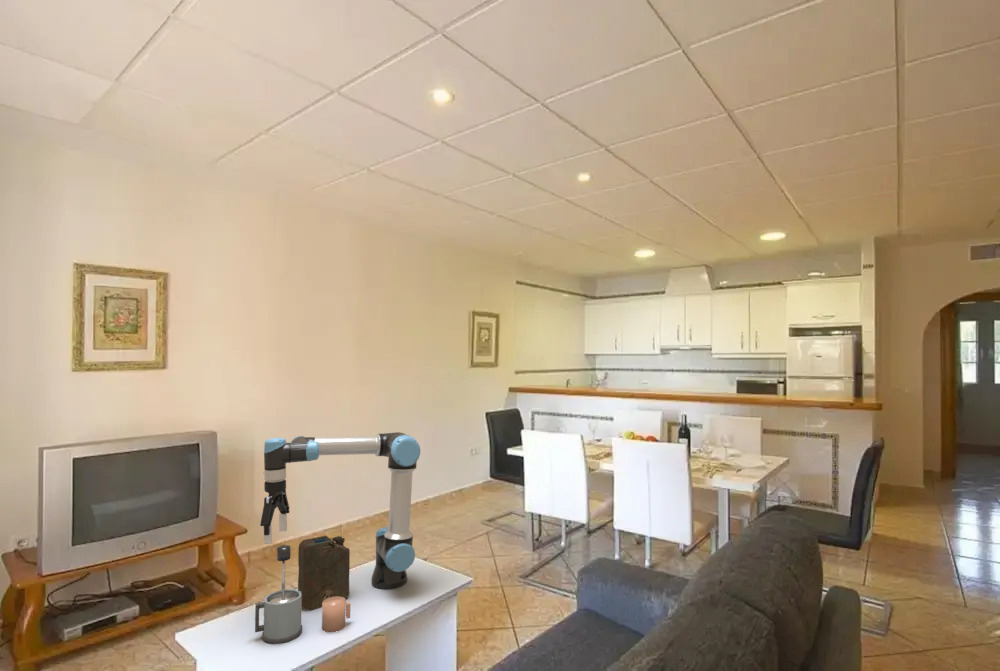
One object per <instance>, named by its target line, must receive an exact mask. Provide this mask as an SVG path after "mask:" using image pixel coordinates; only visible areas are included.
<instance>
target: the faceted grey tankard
mask: <svg viewBox="0 0 1000 671" xmlns="http://www.w3.org/2000/svg"><path fill="white" fill-rule="evenodd" d="M285 592H292V593H295V594H297V598H296V599H294V600H292V601H289V602H286V603H280V604H276V603H270V602H269V599H270V597H272V596H274V595H276V594H279V593H282V589H280V590H277V591H276V590H275V591H274V592H270V593H269V594H267V595H266V596H265V597H264V598H263V599H264V600H263V601H262V602H255V610H254V611H255V613H254V614H255V616H254V625H255V626H254V633H260V632H262V634H261V636H262V637H261V640H262V641H263V643H266V644H268V645H282V644H287V643H290V642H292V641H294V640H296V639H298V638H299V637H300V636H301V635H302V633H303V624H302V608H303V607H302V595H301V592H300V591H298V589H292V588H287V589H286V588H285ZM260 609H263V613H264V614H263V624H261V625H260Z"/></svg>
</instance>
